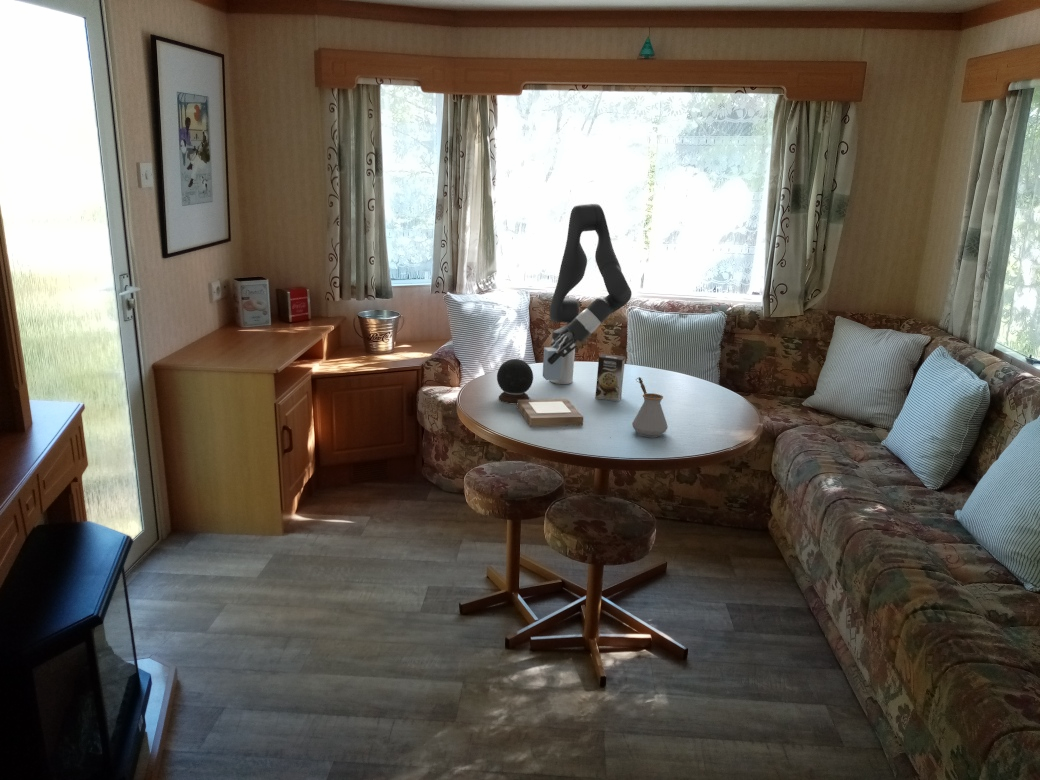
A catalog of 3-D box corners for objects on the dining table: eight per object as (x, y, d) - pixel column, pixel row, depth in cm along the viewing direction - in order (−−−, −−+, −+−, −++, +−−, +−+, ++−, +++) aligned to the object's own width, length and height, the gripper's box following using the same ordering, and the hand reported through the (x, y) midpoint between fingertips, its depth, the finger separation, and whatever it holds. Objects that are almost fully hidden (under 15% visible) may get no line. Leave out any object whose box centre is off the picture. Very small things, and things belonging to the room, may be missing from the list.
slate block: (542, 376, 264) (544, 347, 261) (556, 375, 265) (558, 347, 262) (546, 380, 259) (547, 351, 257) (560, 379, 261) (562, 350, 258)
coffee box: (594, 398, 288) (597, 356, 284) (598, 394, 294) (601, 352, 290) (618, 401, 286) (622, 359, 281) (621, 397, 292) (625, 355, 287)
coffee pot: (671, 439, 250) (676, 395, 245) (637, 439, 248) (641, 395, 243) (651, 417, 270) (655, 376, 265) (619, 418, 268) (622, 376, 264)
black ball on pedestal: (495, 403, 277) (496, 363, 272) (496, 393, 289) (498, 354, 285) (531, 405, 277) (534, 365, 272) (532, 394, 289) (534, 356, 285)
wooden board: (517, 407, 274) (517, 398, 273) (566, 406, 278) (566, 397, 277) (530, 426, 255) (531, 417, 254) (582, 425, 259) (583, 415, 258)
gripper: (570, 313, 265) (534, 347, 265) (582, 321, 251) (545, 358, 252) (584, 328, 267) (548, 362, 268) (597, 337, 254) (559, 373, 255)
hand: (547, 360), depth 260 cm, fingers closed on slate block, 5 cm apart
